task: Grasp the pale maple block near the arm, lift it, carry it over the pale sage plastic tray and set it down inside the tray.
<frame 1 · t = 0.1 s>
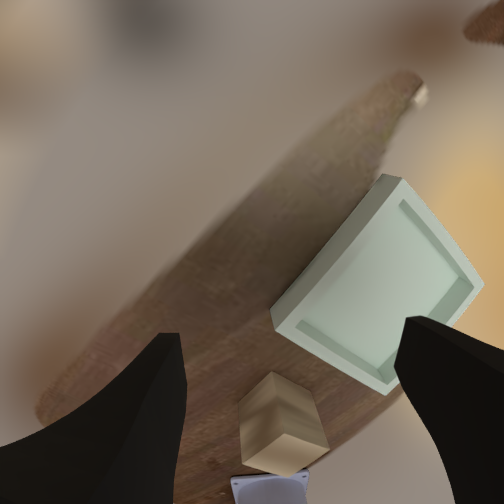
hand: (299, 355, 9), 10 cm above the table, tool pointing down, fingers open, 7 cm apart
sage tray: (382, 290, 20), on the table
maple block: (274, 397, 23), on the table
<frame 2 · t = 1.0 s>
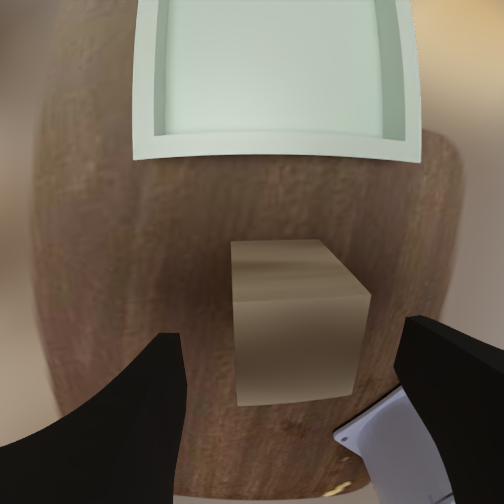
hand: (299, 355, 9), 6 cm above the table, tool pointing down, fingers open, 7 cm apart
sage tray: (276, 35, 11), on the table
maple block: (274, 281, 15), on the table
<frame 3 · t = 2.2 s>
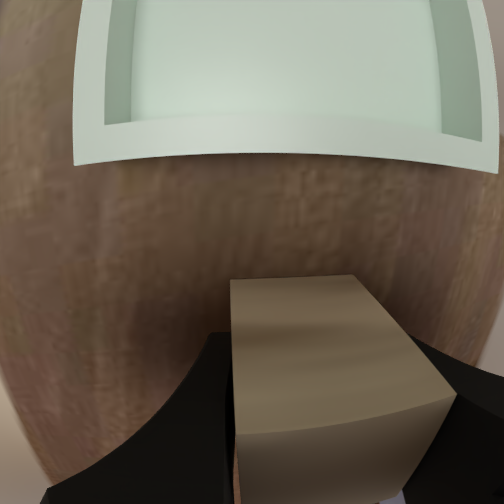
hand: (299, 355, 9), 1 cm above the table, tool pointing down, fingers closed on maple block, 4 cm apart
maple block: (290, 331, 11), on the table, touching gripper
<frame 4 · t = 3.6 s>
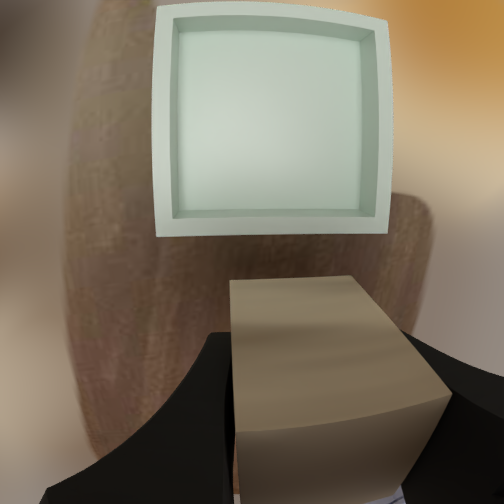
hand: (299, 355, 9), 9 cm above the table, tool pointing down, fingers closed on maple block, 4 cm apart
sage tray: (272, 116, 15), on the table
maple block: (289, 331, 11), point 7 cm above the table, touching gripper
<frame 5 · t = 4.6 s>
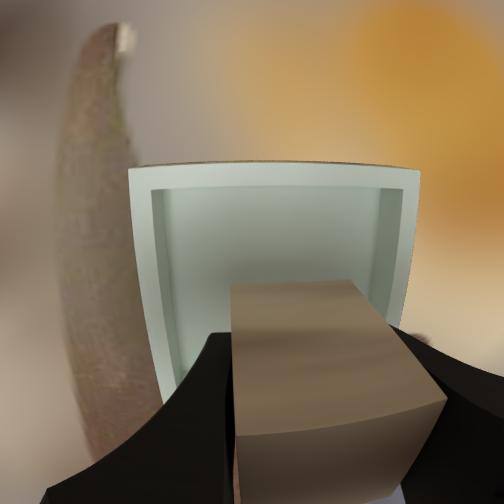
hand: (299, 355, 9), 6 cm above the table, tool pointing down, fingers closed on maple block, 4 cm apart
sage tray: (274, 282, 15), on the table
maple block: (289, 334, 11), point 4 cm above the table, touching gripper
when the fingers open (3 cm above the table, at t = 5.4 s): maple block drops 1 cm, resting on sage tray.
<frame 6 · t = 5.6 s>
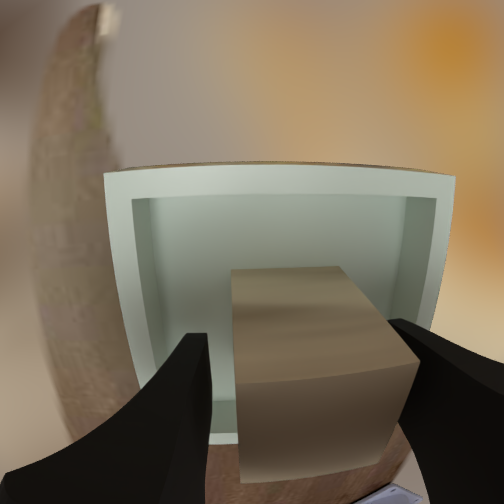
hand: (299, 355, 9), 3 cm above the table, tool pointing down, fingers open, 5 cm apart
sage tray: (281, 304, 12), on the table
maple block: (284, 316, 12), resting on sage tray
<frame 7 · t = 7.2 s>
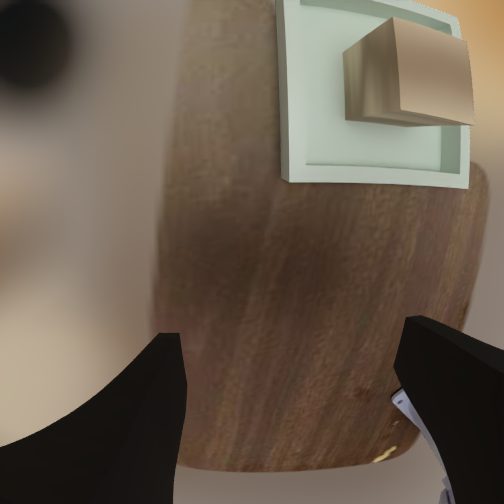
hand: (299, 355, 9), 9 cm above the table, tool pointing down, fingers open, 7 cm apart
sage tray: (372, 86, 15), on the table
maple block: (376, 89, 15), resting on sage tray
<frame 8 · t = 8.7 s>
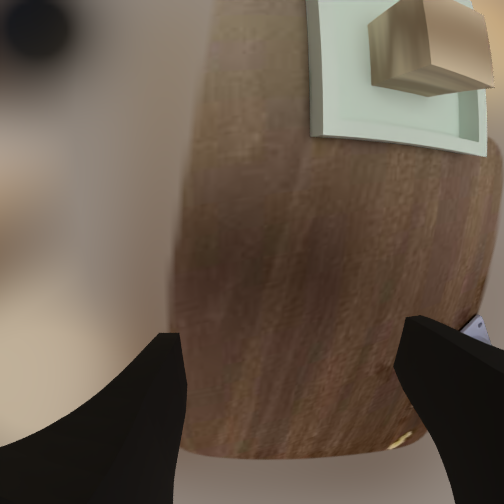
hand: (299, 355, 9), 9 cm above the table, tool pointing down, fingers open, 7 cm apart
sage tray: (394, 58, 15), on the table
maple block: (399, 60, 15), resting on sage tray
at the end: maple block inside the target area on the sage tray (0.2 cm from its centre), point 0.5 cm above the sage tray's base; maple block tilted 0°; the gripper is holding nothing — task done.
